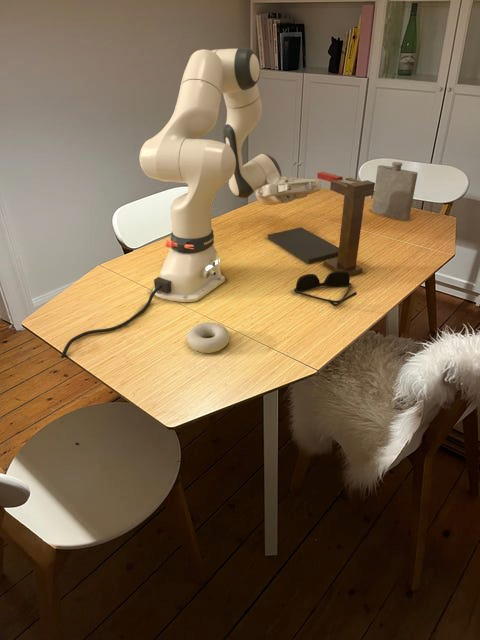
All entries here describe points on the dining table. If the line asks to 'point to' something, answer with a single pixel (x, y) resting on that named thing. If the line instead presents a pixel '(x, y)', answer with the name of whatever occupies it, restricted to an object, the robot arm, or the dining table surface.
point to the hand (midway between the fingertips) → (302, 185)
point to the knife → (332, 177)
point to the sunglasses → (324, 284)
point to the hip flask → (394, 191)
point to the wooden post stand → (350, 224)
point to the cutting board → (304, 245)
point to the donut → (208, 344)
